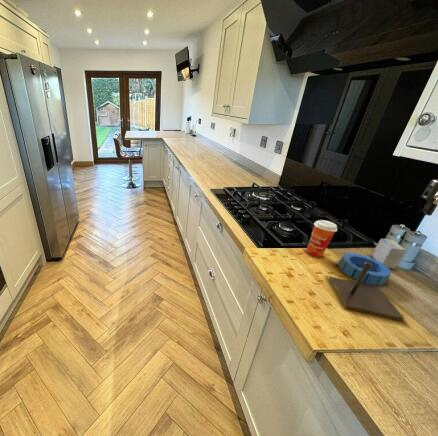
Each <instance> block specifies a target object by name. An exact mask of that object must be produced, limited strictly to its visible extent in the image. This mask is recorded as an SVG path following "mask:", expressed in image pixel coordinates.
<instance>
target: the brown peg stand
mask: <svg viewBox="0 0 438 436" xmlns="http://www.w3.org/2000/svg"><path fill="white" fill-rule="evenodd" d="M363 266H364V267H362V271H361V273H360V275H359V276H358V278H357V280H349V279H344V278H339V277H334V276H329V278H328V280H329V282H330V284H331V286H332V288H333V289H334V292H336V294H337V296H338V298H339V300H340V301H341V303H342V305H343V306H344V308H345V309H347V310H351V311H356V312H360V313H364V314H369V315H373V316H377V317H382V318H386V319H391V320H396V321H400V322H403V320H404V319H405V318H404V317H403V315H402V314H401V312H399V310H398V308H396V307H395V306H394V304H393V303H392V301H390V300H389V298H388V297H387V296H386V294H385V293H384V291H382V289H381V288H380V287H379V285H371V284H366V283H364V282H362V280H363V278H364V276H365V275H366V273H367V271H369V270H368V269H370V268H372V264H371V263H369V262H365V263H364V264H363Z"/></svg>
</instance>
